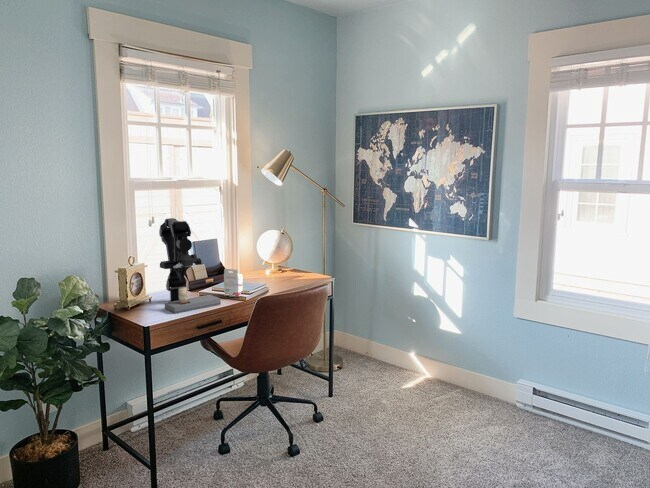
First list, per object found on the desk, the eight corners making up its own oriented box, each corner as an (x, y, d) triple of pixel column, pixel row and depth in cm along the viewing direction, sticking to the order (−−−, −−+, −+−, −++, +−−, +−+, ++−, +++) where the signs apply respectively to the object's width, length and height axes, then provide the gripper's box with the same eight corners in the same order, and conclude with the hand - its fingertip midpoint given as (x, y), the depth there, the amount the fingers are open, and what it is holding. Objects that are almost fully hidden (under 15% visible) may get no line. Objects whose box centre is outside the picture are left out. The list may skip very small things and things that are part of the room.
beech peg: (180, 305, 250) (179, 286, 248) (189, 305, 249) (188, 287, 248) (177, 307, 246) (177, 289, 244) (186, 308, 245) (185, 289, 244)
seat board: (164, 309, 247) (164, 303, 246) (210, 300, 263) (209, 294, 262) (174, 313, 239) (174, 307, 239) (220, 304, 255) (220, 298, 255)
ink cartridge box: (243, 296, 272) (243, 268, 270) (238, 298, 267) (237, 269, 265) (229, 294, 275) (228, 266, 273) (224, 296, 270) (223, 268, 268)
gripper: (169, 252, 233) (171, 287, 235) (207, 248, 245) (208, 280, 248) (158, 249, 241) (160, 282, 243) (195, 245, 254) (196, 277, 256)
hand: (181, 280), depth 247 cm, fingers closed
